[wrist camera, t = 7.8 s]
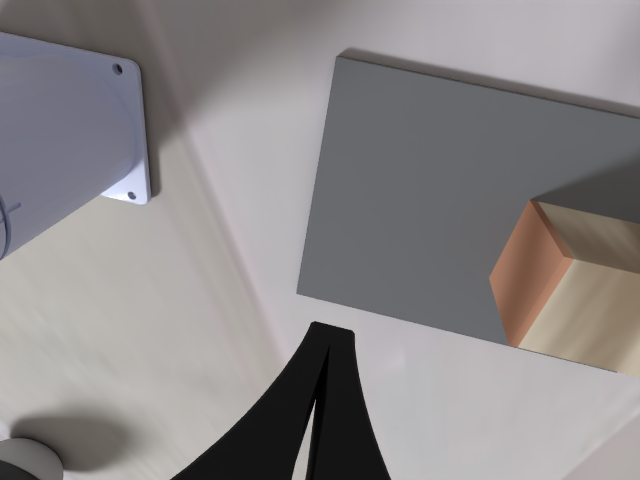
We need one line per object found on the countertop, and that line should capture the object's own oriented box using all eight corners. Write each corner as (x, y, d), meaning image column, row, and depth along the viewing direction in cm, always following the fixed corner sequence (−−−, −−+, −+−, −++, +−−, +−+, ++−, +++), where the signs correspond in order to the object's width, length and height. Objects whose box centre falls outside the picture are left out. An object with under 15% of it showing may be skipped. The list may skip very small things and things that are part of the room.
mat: (297, 289, 25) (296, 293, 25) (337, 55, 18) (336, 56, 17) (613, 367, 24) (616, 372, 24) (803, 151, 17) (811, 155, 16)
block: (508, 345, 18) (714, 395, 17) (563, 256, 15) (811, 313, 15) (488, 278, 22) (654, 317, 21) (529, 199, 19) (720, 242, 19)
